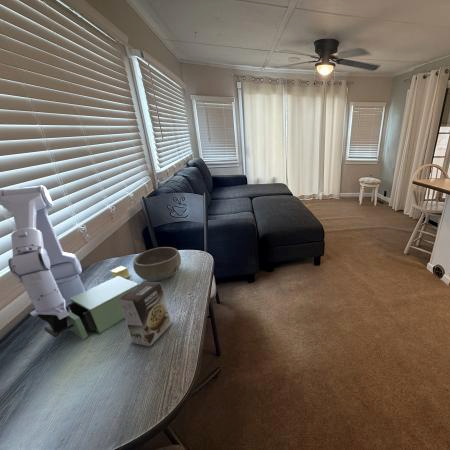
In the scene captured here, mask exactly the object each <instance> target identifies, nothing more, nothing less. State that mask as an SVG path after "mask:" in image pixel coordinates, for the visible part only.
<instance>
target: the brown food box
mask: <svg viewBox="0 0 450 450" xmlns="http://www.w3.org/2000/svg"><path fill="white" fill-rule="evenodd" d="M161 283H162V282H157V281H146V280H144V281H142V282H140V283H138V284H139V285H138V286H136V287H135V288H133V289H132V290H131V291H129V292H128V293H126V294H125V295H124V296H122V297H121V298H119V302H120V305H121V308H122V311H123V314H124V317H125V318H124V321H125V322H126V325H127V328H128V333H129V334H130V338H131V341H132V343H133V344H137V345H140V346H147V347H151V346H152V345H153V344H154V343H155V342H156V341H157V340H158V339H159V338H160V337H161V336H162V335H163V334H164V333H165V332H166V331H167V330H168V329H169V328H170V327H171V325H172V322H171V318H170V313H169V310H168V307H167V301H166V299H165V295H164V291H163V288H162V287H163V286H162V284H161Z"/></svg>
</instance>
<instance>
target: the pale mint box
mask: <svg viewBox="0 0 450 450" xmlns="http://www.w3.org/2000/svg"><path fill="white" fill-rule="evenodd" d="M139 284H140V283H137V282H135V281H133V280H130V279H128V278H126V279H125V278H123V277H120V276H117V277H115V278H113V277H112V278H111V279H108V280H106V281H104V282H102V283H100V284H97V285H95V286H94V287H91V288H89V289H87V290H85V292H83V293H81V294H78V295H76V296H74V297H72V298H70V300H71V303H73V302H74V303H76V304H78V305H80V306H81V307H83V308H85V309H87V310H88V311H90V313H91V316H92V318H93V321H94V323H95V325H96V328H97V329H95V330H94V331H95V332H97V333H103V332H105V330H107V329H109V328H110V327H112V326H113V325H115V324H117V323H118V322H120V321H121V320H123V319H125V317H124V314H123V311H122V308H121V305H120V302H119V298H121V297H122V296H124V295H125V294H126V293H128V292H129V291H131V290H132V289H133V288H135V287H136V286H138V285H139Z"/></svg>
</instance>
